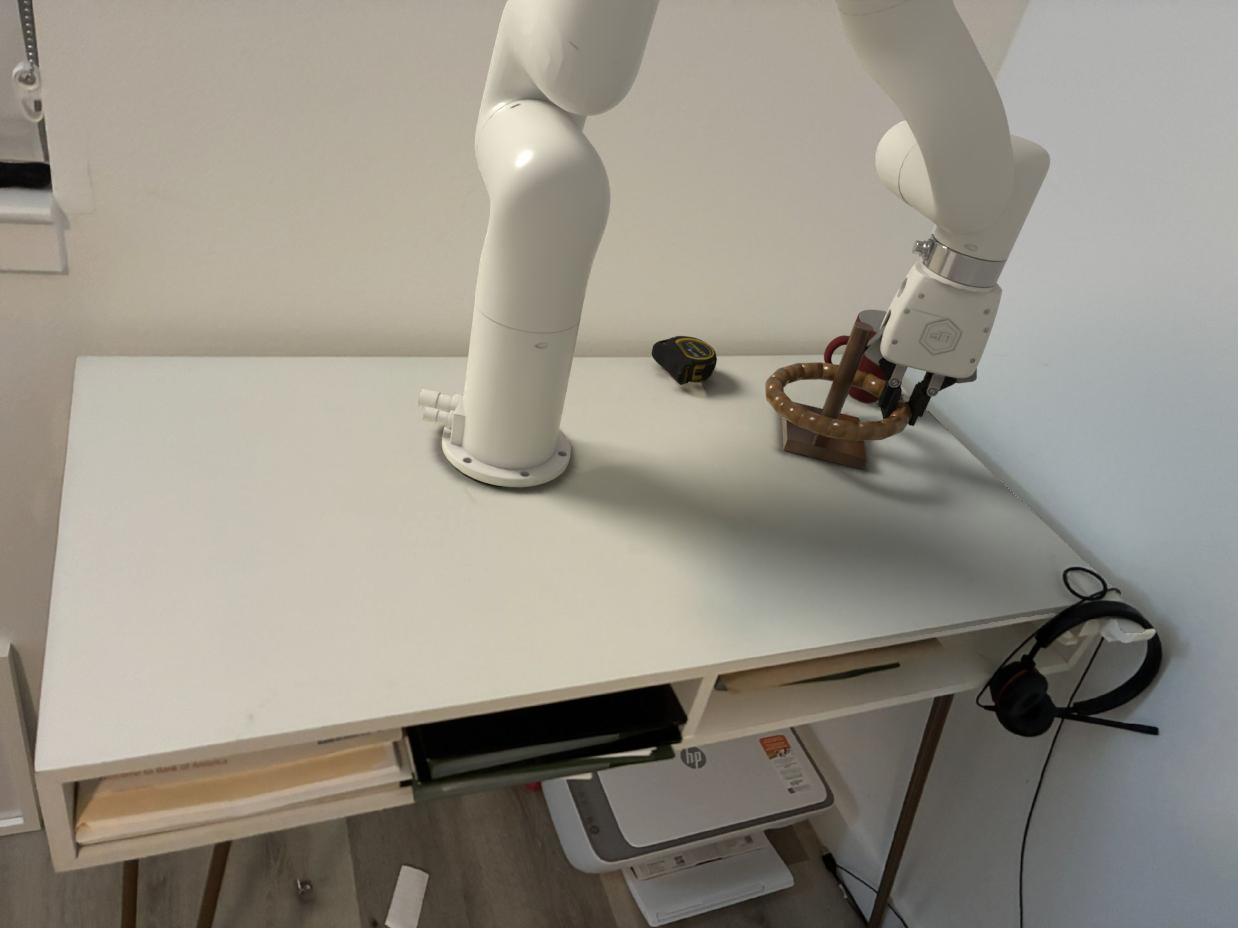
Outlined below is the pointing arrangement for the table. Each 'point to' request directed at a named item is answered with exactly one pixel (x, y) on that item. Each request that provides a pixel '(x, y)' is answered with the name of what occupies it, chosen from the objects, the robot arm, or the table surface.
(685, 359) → the tape measure
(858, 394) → the mug
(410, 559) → the table surface
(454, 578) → the table surface
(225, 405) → the table surface
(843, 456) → the post
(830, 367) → the ring
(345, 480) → the table surface
